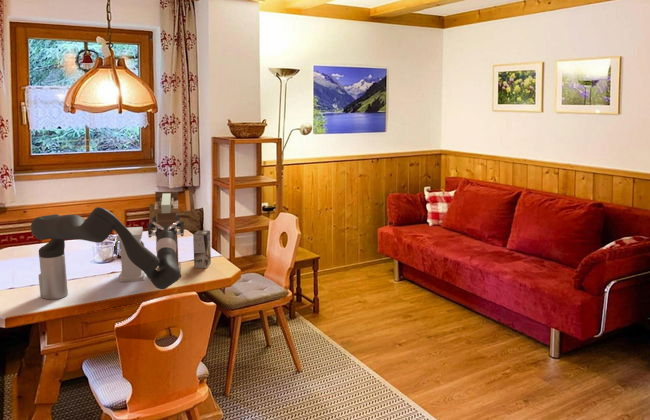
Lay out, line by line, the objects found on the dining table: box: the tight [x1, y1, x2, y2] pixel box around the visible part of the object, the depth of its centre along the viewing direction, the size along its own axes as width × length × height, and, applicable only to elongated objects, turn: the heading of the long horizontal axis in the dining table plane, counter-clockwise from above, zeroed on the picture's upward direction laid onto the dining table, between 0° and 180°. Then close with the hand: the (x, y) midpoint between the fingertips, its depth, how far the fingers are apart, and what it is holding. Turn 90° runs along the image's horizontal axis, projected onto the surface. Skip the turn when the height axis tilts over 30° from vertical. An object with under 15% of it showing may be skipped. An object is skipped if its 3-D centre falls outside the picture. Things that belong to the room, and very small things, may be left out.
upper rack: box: [153, 190, 182, 278], centre depth 261 cm, size 20×10×36 cm, turn 14°
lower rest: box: [115, 226, 146, 283], centre depth 256 cm, size 14×10×21 cm
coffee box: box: [192, 230, 212, 269], centre depth 274 cm, size 9×6×16 cm
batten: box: [161, 193, 171, 213], centre depth 252 cm, size 26×4×4 cm, turn 14°
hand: (165, 217), depth 238 cm, fingers open, 8 cm apart
